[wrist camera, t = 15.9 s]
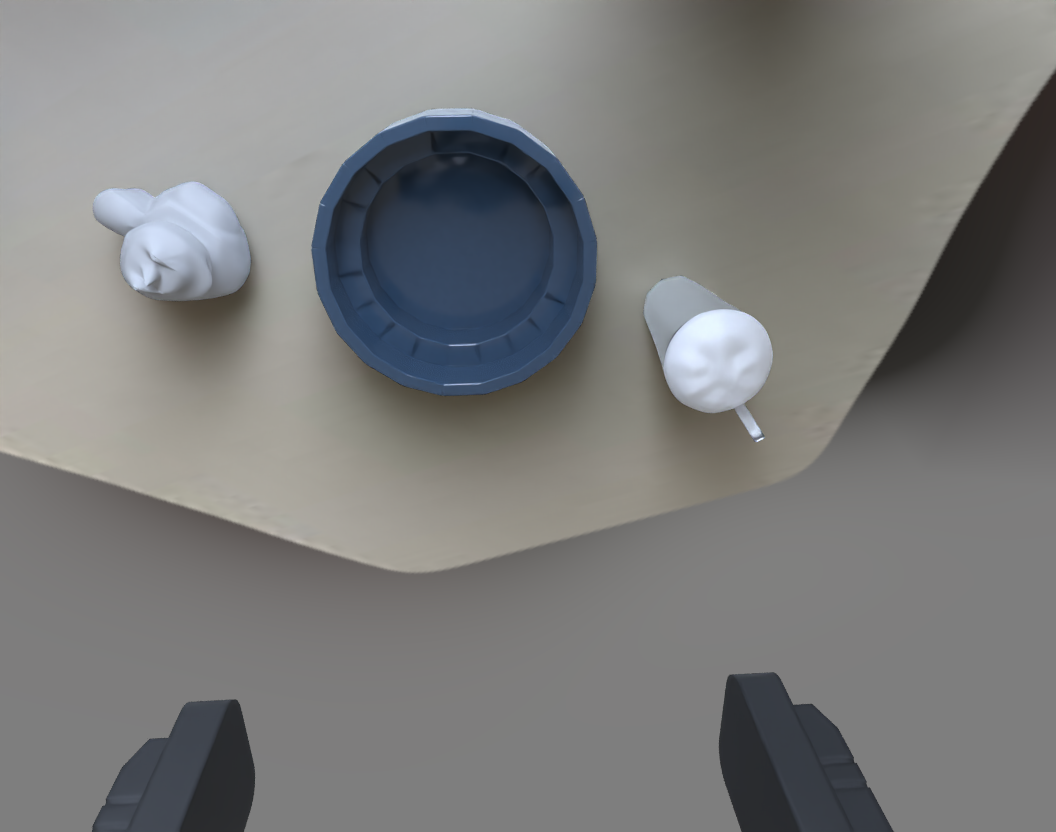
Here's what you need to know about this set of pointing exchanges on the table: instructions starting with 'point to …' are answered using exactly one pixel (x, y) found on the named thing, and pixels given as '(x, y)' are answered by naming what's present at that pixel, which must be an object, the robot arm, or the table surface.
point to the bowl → (454, 253)
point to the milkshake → (708, 348)
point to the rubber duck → (177, 241)
